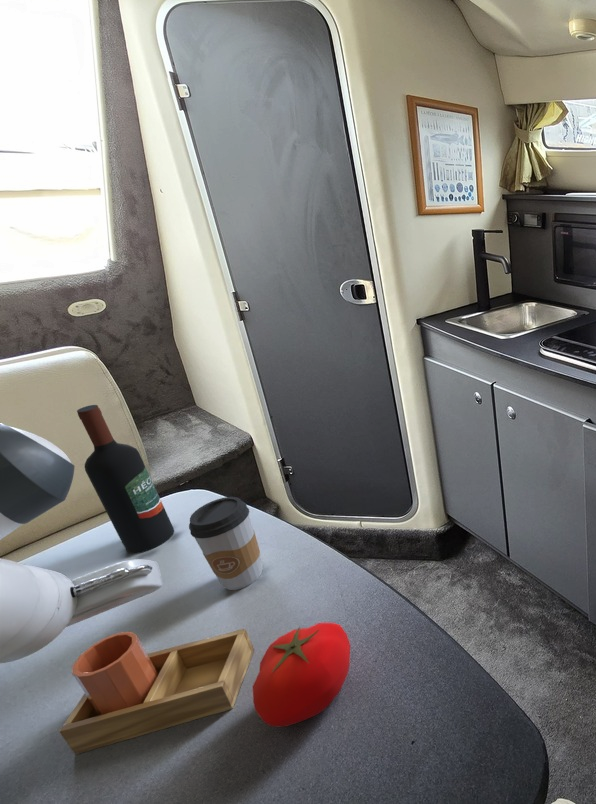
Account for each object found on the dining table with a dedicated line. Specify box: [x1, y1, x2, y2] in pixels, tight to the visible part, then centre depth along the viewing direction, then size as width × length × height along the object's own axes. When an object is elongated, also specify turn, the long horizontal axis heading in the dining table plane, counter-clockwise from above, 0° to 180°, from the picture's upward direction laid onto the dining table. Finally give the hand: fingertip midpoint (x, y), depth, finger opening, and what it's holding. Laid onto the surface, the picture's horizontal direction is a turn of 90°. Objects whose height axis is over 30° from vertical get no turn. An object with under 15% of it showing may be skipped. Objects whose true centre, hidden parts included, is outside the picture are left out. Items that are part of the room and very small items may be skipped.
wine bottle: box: [76, 404, 175, 554], centre depth 94 cm, size 8×8×30 cm
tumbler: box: [71, 631, 158, 716], centre depth 66 cm, size 6×6×10 cm
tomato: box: [252, 622, 352, 728], centre depth 67 cm, size 11×13×10 cm
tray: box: [58, 628, 255, 755], centre depth 68 cm, size 9×18×5 cm, turn 107°
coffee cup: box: [188, 496, 264, 591], centre depth 87 cm, size 8×8×15 cm
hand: (69, 618), depth 62 cm, fingers open, 8 cm apart
